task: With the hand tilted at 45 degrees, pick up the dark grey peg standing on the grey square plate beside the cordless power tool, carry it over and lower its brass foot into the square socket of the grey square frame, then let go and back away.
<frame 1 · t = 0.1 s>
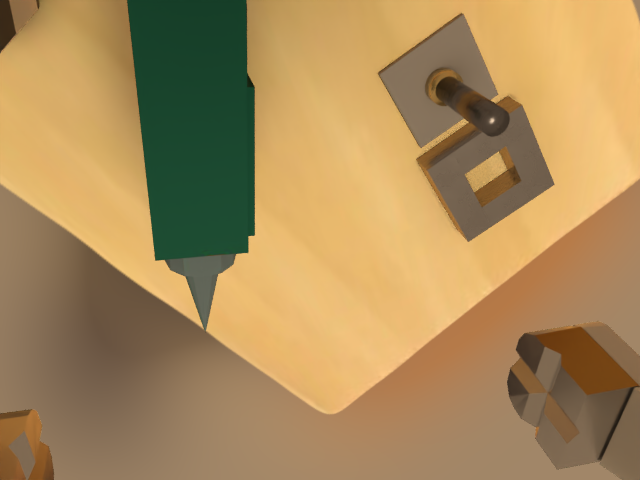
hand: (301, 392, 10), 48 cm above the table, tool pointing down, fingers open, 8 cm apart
power tool: (186, 86, 54), on the table
grey square plate: (439, 83, 60), on the table
grey square frame: (480, 166, 67), on the table
dark grey peg: (441, 84, 60), resting on grey square plate
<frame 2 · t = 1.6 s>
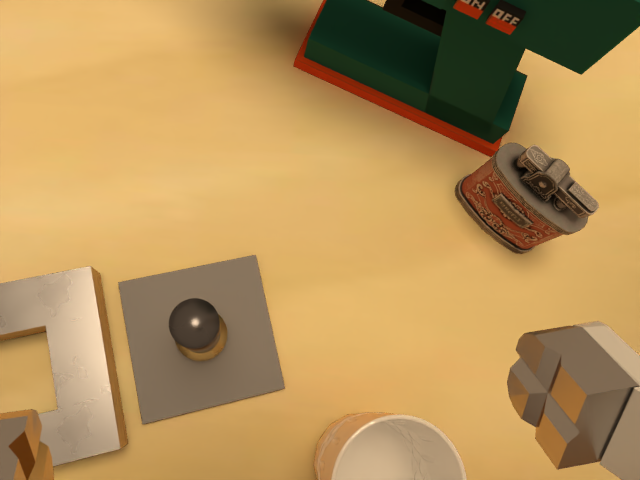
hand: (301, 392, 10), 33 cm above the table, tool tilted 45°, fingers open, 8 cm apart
lighter: (492, 215, 48), on the table
power tool: (332, 51, 49), on the table
white cup: (358, 460, 41), on the table
grey square plate: (202, 335, 41), on the table
grey square frame: (22, 376, 39), on the table
dark grey peg: (201, 335, 41), point 1 cm above the table, touching grey square plate
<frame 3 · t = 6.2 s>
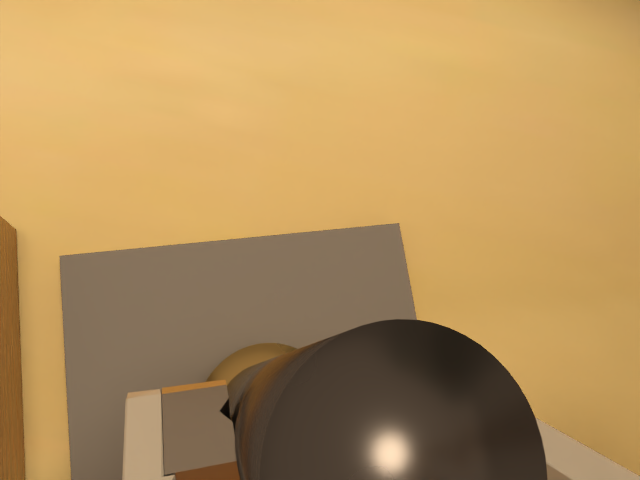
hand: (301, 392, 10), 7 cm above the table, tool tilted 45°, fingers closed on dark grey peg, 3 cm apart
grey square plate: (260, 411, 16), on the table
dark grey peg: (262, 412, 16), point 1 cm above the table, touching gripper, grey square plate
when the fingers open (8 cm above the table, at t = 10.6 s): dark grey peg drops 1 cm, resting in grey square frame.
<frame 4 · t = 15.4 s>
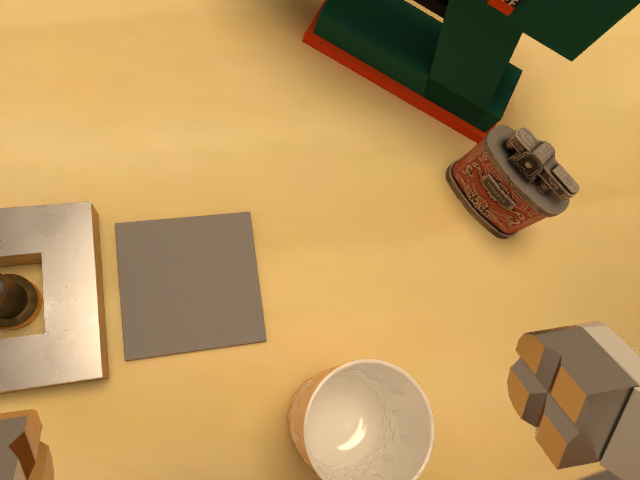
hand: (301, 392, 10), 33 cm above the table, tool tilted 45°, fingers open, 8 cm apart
lighter: (479, 200, 50), on the table
power tool: (340, 31, 51), on the table
white cup: (331, 418, 43), on the table
grey square plate: (191, 283, 43), on the table
grey square frame: (12, 303, 40), on the table
dark grey peg: (13, 303, 40), resting in grey square frame
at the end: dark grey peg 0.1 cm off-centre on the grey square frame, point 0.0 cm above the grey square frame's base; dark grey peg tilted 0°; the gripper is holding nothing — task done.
